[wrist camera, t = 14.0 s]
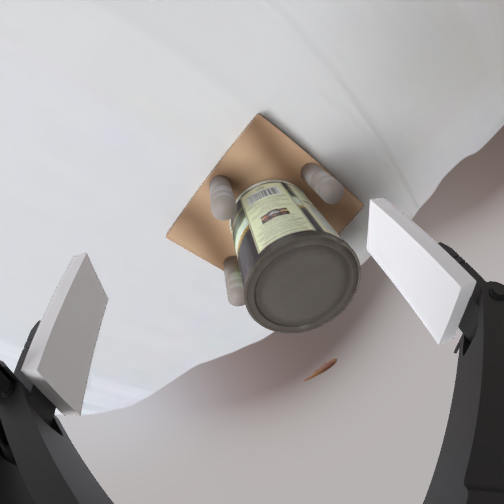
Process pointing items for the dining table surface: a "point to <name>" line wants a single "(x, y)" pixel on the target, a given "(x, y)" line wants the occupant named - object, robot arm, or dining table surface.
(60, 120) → the dining table surface
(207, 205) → the wooden peg stand
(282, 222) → the coffee can
